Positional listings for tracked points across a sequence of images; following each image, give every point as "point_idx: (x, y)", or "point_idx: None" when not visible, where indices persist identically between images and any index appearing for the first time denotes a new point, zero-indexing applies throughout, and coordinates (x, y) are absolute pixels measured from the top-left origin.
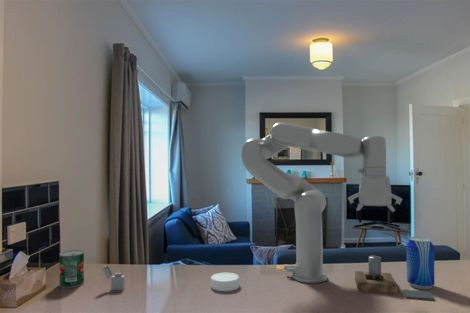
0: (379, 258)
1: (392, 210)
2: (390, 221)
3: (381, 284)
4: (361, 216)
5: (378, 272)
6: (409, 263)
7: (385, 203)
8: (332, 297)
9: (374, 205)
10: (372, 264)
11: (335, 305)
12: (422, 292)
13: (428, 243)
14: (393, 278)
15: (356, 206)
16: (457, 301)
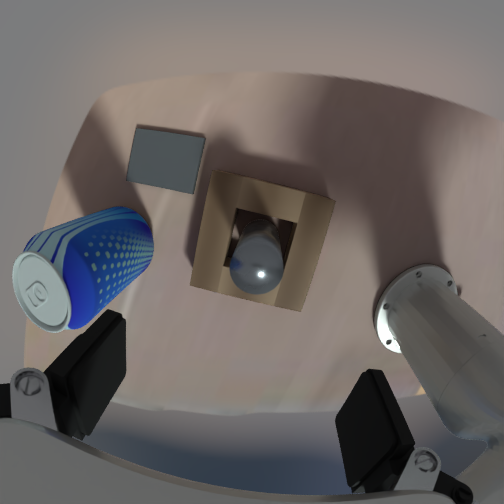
0: (243, 246)
1: (36, 381)
2: (112, 319)
3: (262, 181)
4: (380, 404)
5: (252, 230)
6: (125, 253)
7: (52, 466)
8: (412, 158)
9: (266, 497)
10: (274, 242)
11: (416, 108)
12: (145, 171)
13: (26, 250)
14: (199, 233)
15: (434, 486)
16: (92, 131)
